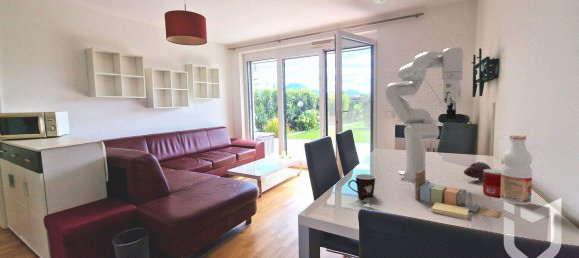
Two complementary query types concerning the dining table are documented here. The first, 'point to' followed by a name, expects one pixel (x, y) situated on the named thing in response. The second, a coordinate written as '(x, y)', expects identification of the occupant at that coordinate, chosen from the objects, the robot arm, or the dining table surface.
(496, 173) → the canned food
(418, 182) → the shelf
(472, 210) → the bookend
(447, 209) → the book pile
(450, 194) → the terracotta book
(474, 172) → the pine cone
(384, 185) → the dining table surface
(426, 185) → the blue book
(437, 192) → the olive book
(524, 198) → the fruit juice
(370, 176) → the coffee mug
